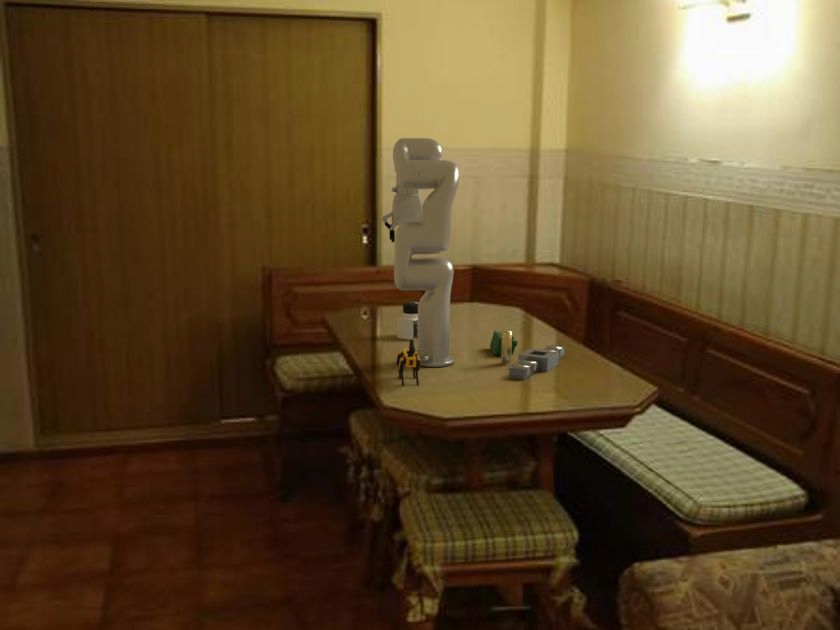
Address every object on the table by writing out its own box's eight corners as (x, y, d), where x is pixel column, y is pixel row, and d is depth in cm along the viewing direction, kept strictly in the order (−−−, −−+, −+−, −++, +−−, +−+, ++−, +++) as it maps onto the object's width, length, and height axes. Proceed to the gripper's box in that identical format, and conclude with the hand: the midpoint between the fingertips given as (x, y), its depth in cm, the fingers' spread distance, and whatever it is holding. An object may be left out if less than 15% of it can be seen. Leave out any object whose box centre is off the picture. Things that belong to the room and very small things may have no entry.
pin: (508, 365, 271) (509, 332, 269) (499, 364, 273) (500, 331, 271) (512, 363, 274) (513, 330, 272) (503, 362, 275) (504, 329, 273)
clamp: (509, 368, 285) (518, 346, 280) (491, 364, 284) (500, 341, 279) (507, 346, 295) (516, 324, 290) (489, 342, 294) (498, 319, 289)
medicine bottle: (413, 341, 302) (414, 305, 299) (396, 338, 306) (397, 303, 304) (426, 337, 307) (427, 302, 305) (409, 334, 311) (410, 300, 309)
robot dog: (402, 392, 242) (402, 343, 239) (395, 375, 259) (395, 329, 257) (423, 392, 242) (424, 343, 240) (415, 374, 260) (416, 328, 257)
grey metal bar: (531, 381, 254) (532, 367, 253) (501, 376, 258) (501, 363, 258) (571, 356, 283) (572, 344, 282) (544, 353, 287) (544, 340, 286)
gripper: (383, 191, 302) (383, 243, 306) (434, 191, 306) (433, 242, 309) (380, 190, 310) (380, 240, 313) (429, 190, 313) (429, 240, 316)
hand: (406, 241), depth 311 cm, fingers open, 9 cm apart
